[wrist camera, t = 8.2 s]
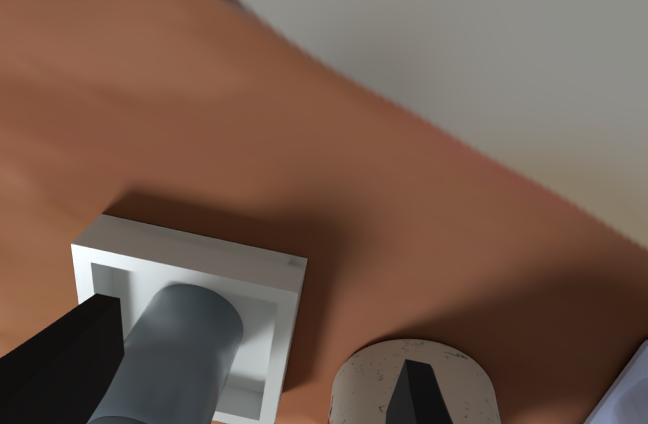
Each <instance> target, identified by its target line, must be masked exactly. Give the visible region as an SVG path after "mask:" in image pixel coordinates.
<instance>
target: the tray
mask: <svg viewBox="0 0 648 424" xmlns="http://www.w3.org/2000/svg"><path fill="white" fill-rule="evenodd" d="M71 247H72V255H73V262H74V270H75V278H76V285H77V293H78V300H79V305H80V304H81V303H83V302H84V301H85V300H87V299H88V298H90V297H91V296H93V295H94V294H96V293H98V294H103V295H107V296H112V297H117V298H120V303H121V315H122V327H123V339H124V340H125V339H126V337H127V336H128V334H129V333H130V331H131V330H132V328H133V326H134V325H135V323H136V322H137V320H138V319H139V317H140V316H141V314H142V312H143V311H144V309H145V308H146V306H147V305H148V303H149V302H150V300H151V299H152V297H153V296H154V295H155V294H156V293H157V292H158V291H160V290H161V289H163V288H165V287H168V286H171V285H177V284H191V285H197V286H200V287H204V288H207V289H209V290H212V291H214V292H216V293H217V294H219V295H221V296H222V297H224V298H225V299H226V300H227V301H228V302H230V303H231V304H232V305H233V307H234V308H235V309H236V310H237V312H238V313H239V315H240V317H241V320H242V323H243V337H242V340H241V343H240V345H239V348H238V351H237V354H236V356H235V359H234V362H233V364H232V367H231V370H230V373H229V375H228V378H227V381H226V383H225V386H224V389H223V392H222V394H221V397H220V400H219V402H218V405H217V408H216V411H215V413H214V416H213V419H212V420H215V421H220V422H224V423H229V424H275V420H276V416H277V412H278V408H279V404H280V400H281V395H282V391H283V385H284V380H285V375H286V370H287V364H288V359H289V354H290V349H291V344H292V338H293V333H294V328H295V323H296V317H297V312H298V307H299V302H300V297H301V291H302V286H303V281H304V276H305V270H306V265H307V260H308V258H303V257H299V256H294V255H289V254H285V253H280V252H276V251H271V250H266V249H262V248H257V247H252V246H248V245H243V244H239V243H234V242H229V241H225V240H220V239H215V238H211V237H206V236H201V235H197V234H192V233H188V232H183V231H178V230H174V229H169V228H164V227H160V226H155V225H151V224H146V223H141V222H137V221H132V220H127V219H123V218H118V217H114V216H109V215H104V214H100V215H99V216H98V217H97V218H96V219H95V220H94V221H93V222H92V223H91V224H90V225H89V226H88V227H87V228H86V229H85V230H84V231H83V232H82V233H81V234H80V235H79V236H78V237H77V238H76V239H75V240H74V241H73V242H72V243H71Z"/></svg>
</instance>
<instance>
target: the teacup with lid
mask: <svg viewBox="0 0 648 424" xmlns="http://www.w3.org/2000/svg"><path fill="white" fill-rule="evenodd" d="M405 359H409V360H413V361H418V362H423V363H427V364H430V365H431V366H432V368H433V370H434V373H435V376H436V379H437V382H438V385H439V388H440V391H441V393H442V396H443V399H444V401H445V404H446V407H447V409H448V412H449V414H450V417H451V419H452V422H453V424H501V421H500V416H499V411H498V406H497V401H496V396H495V392H494V388H493V385H492V382H491V380H490V379H489V377H488V375H487V374H486V372H485V371H484V370H483V369H482V368H481V366H480V365H479V364H478V363H476V362H475V361H474V360H473V359H472V358H470V357H469V356H467V355H466V354H464V353H462V352H460V351H458V350H457V349H455V348H452V347H450V346H447V345H444V344H441V343H437V342H433V341H428V340H420V339H397V340H389V341H384V342H380V343H377V344H374V345H371V346H369V347H366V348H364V349H362V350H360V351H359V352H357V353H355V354H354V355H353V356H351V357H350V358H349V359H348V360H347V361H346V362H345V363H344V364H343V365H342V366H341V368H340V369H339V371H338V372H337V375H336V377H335V380H334V383H333V388H332V395H331V402H330V410H329V417H328V424H385V421H386V411H387V408H388V405H389V402H390V400H391V397H392V394H393V391H394V389H395V386H396V383H397V380H398V378H399V375H400V372H401V369H402V367H403V364H404V361H405Z"/></svg>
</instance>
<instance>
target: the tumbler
mask: <svg viewBox="0 0 648 424" xmlns="http://www.w3.org/2000/svg"><path fill="white" fill-rule="evenodd" d="M242 337H243V323H242V320H241V317H240V315H239V313H238V312H237V310H236V309H235V308H234V307H233V305H232V304H231V303H230V302H228V301H227V300H226V299H225V298H224V297H222V296H221V295H219V294H217V293H216V292H214V291H212V290H209V289H207V288H204V287H200V286H197V285H191V284H177V285H171V286H168V287H165V288H163V289H161V290H160V291H158V292H157V293H156V294H155V295H154V296H153V297H152V299H151V300H150V302H149V303H148V305H147V306H146V308H145V309H144V311H143V312H142V314H141V316H140V317H139V319H138V320H137V322H136V323H135V325H134V326H133V328H132V330H131V331H130V333H129V334H128V336H127V337H126V339H125V340H124V351H125V355H124V357H123V360H122V362H121V364H120V366H119V368H118V370H117V372H116V374H115V376H114V378H113V380H112V382H111V384H110V386H109V388H108V390H107V392H106V394H105V396H104V397H103V399H102V400H101V402H100V404H99V405H98V407H97V408H96V410H95V412H94V413H93V415H92V416H91V418H90V419H89V421H88V423H87V424H211V421H212V419H213V416H214V413H215V411H216V408H217V405H218V402H219V400H220V397H221V394H222V392H223V389H224V386H225V383H226V381H227V378H228V375H229V373H230V370H231V367H232V364H233V362H234V359H235V356H236V354H237V351H238V348H239V345H240V343H241V340H242Z"/></svg>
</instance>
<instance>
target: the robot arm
mask: <svg viewBox="0 0 648 424" xmlns="http://www.w3.org/2000/svg"><path fill="white" fill-rule="evenodd" d="M124 355H125V351H124V339H123V327H122V315H121V303H120V298H117V297H112V296H107V295H103V294H98V293H96V294H94V295H93V296H91V297H90V298H88V299H87V300H85V301H84V302H83V303H81V304H80V305H78V306H77V307H75V308H74V309H72V310H71V311H70V312H68V313H67V314H65V315H64V316H63V317H61V318H60V319H58V320H57V321H55V322H54V323H52V324H51V325H50V326H48V327H47V328H45V329H44V330H42V331H41V332H39V333H38V334H36V335H35V336H33V337H32V338H30V339H29V340H27V341H26V342H24V343H23V344H21V345H20V346H18V347H17V348H15V349H14V350H12V351H11V352H9V353H8V354H6V355H5V356H3V357H1V358H0V424H87V423H88V421H89V419H90V418H91V416H92V415H93V413H94V412H95V410H96V408H97V407H98V405H99V404H100V402H101V400H102V399H103V397H104V396H105V394H106V392H107V390H108V388H109V386H110V384H111V382H112V380H113V378H114V376H115V374H116V372H117V370H118V368H119V366H120V364H121V362H122V360H123V357H124ZM385 424H453V422H452V419H451V417H450V414H449V412H448V409H447V407H446V404H445V401H444V399H443V396H442V393H441V391H440V388H439V385H438V382H437V379H436V376H435V373H434V370H433V368H432V366H431V365H430V364H427V363H423V362H418V361H413V360H409V359H405V361H404V364H403V367H402V369H401V372H400V375H399V378H398V380H397V383H396V386H395V389H394V391H393V394H392V397H391V400H390V402H389V405H388V408H387V411H386V421H385ZM584 424H648V339H647V340H646V341H645V342H644V343H643V344H642V345H641V346H640V348H639V349H638V350H637V352H636V353H635V354H634V356H633V357H632V359H631V360H630V361H629V363H628V364H627V365H626V367H625V368H624V369H623V371H622V372H621V373H620V375H619V376H618V378H617V379H616V380H615V382H614V383H613V384H612V386H611V387H610V388H609V390H608V391H607V392H606V394H605V395H604V396H603V398H602V399H601V401H600V402H599V403H598V405H597V406H596V407H595V409H594V410H593V411H592V413H591V414H590V415H589V417H588V418H587V419H586V421H585V422H584Z"/></svg>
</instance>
